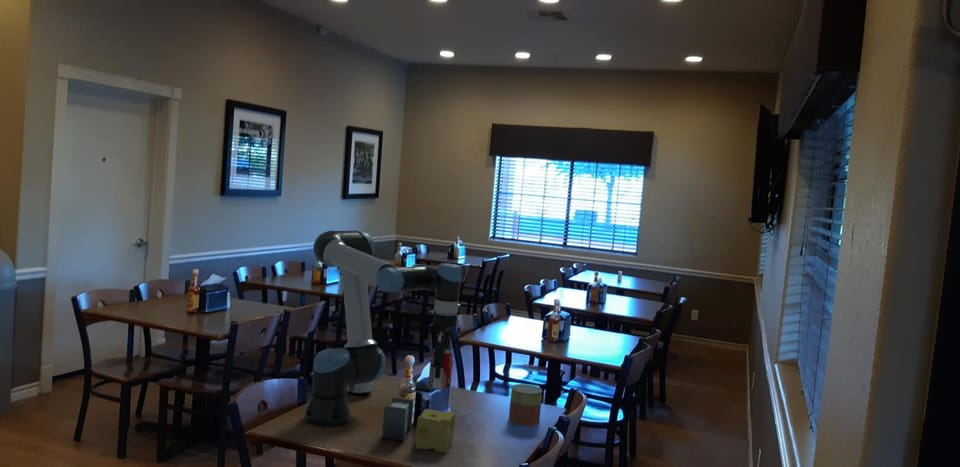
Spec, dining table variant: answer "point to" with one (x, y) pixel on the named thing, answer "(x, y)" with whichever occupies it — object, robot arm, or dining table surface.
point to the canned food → (525, 405)
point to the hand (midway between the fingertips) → (439, 384)
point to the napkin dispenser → (397, 420)
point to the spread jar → (361, 389)
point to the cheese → (435, 430)
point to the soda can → (446, 370)
